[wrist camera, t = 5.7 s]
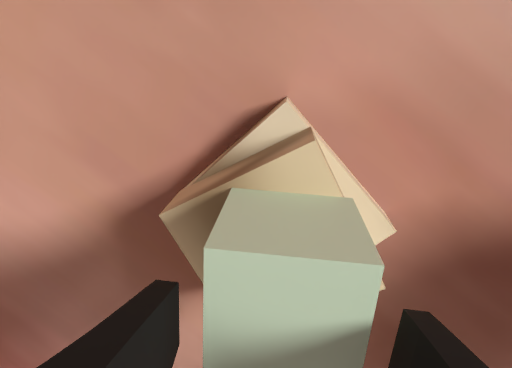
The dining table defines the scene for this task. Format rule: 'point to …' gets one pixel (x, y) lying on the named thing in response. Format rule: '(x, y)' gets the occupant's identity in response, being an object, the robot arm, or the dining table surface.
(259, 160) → the beech slab top
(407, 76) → the dining table surface
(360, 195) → the beech slab bottom
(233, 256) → the sage cube
